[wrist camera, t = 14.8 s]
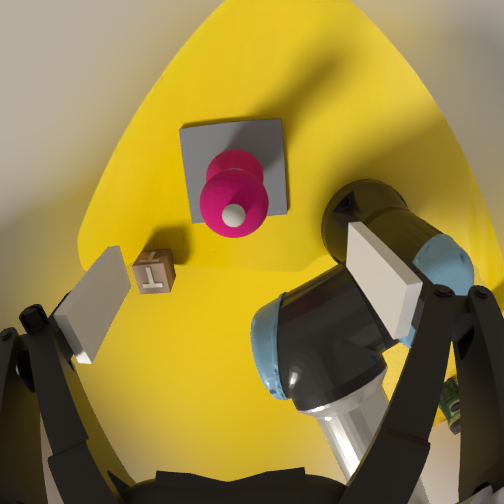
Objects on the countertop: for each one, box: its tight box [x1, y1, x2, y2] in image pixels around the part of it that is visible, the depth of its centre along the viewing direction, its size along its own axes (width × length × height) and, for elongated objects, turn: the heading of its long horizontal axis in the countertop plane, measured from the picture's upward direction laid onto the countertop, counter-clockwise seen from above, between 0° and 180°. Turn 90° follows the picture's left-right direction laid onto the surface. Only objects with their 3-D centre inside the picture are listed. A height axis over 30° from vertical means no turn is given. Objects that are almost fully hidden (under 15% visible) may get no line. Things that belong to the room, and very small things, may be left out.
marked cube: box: [132, 249, 176, 294], centre depth 43 cm, size 5×5×5 cm
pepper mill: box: [199, 149, 269, 238], centre depth 30 cm, size 7×7×20 cm
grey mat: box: [179, 119, 287, 224], centre depth 39 cm, size 14×14×1 cm
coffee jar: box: [438, 378, 461, 435], centre depth 62 cm, size 10×8×19 cm
